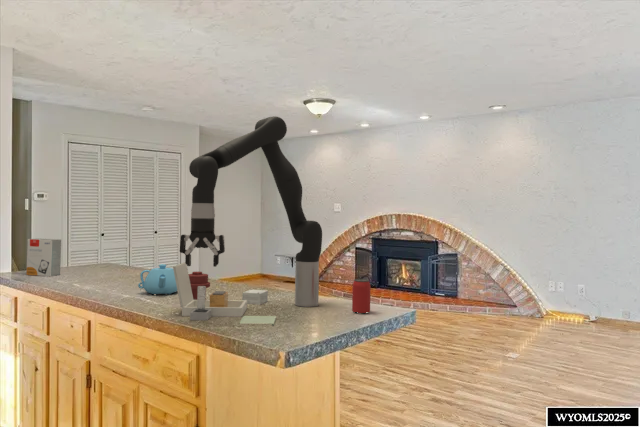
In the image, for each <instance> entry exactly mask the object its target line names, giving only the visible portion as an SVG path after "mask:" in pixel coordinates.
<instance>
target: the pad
mask: <svg viewBox="0 0 640 427" xmlns="http://www.w3.org/2000/svg"><path fill="white" fill-rule="evenodd" d="M276 319H277V316H276V315H242V317H241V319H240V321H239V324H240V325H241V324H243V325H244V324H248V325H249V324H251V325H252V324H254V325H255V324H256V325H257V324H258V325H259V324H260V325H262V324H263V325H265V324H267V325H271V326H275V322H276Z"/></svg>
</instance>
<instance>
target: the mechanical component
mask: <svg viewBox="0 0 640 427" xmlns="http://www.w3.org/2000/svg"><path fill="white" fill-rule="evenodd" d="M188 274H189V279H190V284H191V290H192V295H193V300H197V293H198V286H206V289H208V288H210V287H211V282H210V281H209V274H208V273H203V271H192V272H191V273H188ZM205 300H207V298H206V299H205Z"/></svg>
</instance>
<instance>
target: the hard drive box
mask: <svg viewBox="0 0 640 427" xmlns="http://www.w3.org/2000/svg"><path fill="white" fill-rule="evenodd" d="M26 239H27V243H26V270H25V272H26V274H25V275H26V276H38V277H39V276H40V277H41V276H42V277H54V276H60V275H61V261H62V260H61V259H62V258H61V257H62V239H59V238H26Z"/></svg>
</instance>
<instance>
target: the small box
mask: <svg viewBox="0 0 640 427" xmlns="http://www.w3.org/2000/svg"><path fill="white" fill-rule="evenodd" d="M241 296H242V298H241V300H247V305H258V306H260V305H262V304H266V303H268V297H269V292H268V290H264V289H249V290H246V291H243V292H242V295H241Z"/></svg>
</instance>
